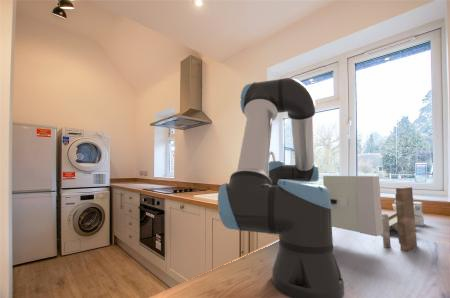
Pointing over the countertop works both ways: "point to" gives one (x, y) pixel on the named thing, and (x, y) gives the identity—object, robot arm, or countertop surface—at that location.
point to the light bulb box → (418, 213)
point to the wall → (393, 221)
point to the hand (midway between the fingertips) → (350, 202)
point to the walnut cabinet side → (402, 220)
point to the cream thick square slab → (356, 203)
